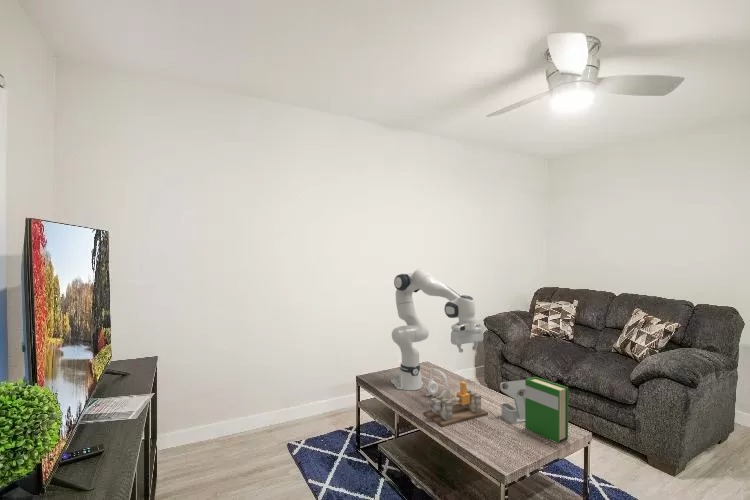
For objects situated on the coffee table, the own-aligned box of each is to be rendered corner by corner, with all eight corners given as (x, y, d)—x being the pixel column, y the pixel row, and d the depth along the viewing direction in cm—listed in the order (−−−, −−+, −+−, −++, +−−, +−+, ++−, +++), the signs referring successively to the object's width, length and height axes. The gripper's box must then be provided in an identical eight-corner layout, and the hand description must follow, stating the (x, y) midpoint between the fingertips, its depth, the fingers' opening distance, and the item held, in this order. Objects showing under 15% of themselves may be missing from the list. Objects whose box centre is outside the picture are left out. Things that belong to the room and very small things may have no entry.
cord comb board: (423, 414, 206) (423, 394, 206) (467, 404, 220) (467, 385, 220) (442, 427, 192) (442, 405, 192) (488, 414, 206) (488, 395, 206)
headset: (453, 407, 216) (453, 375, 216) (441, 408, 214) (441, 376, 214) (435, 394, 235) (435, 364, 235) (425, 395, 233) (425, 365, 232)
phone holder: (510, 424, 195) (510, 388, 195) (499, 415, 205) (499, 381, 205) (540, 420, 200) (540, 385, 200) (527, 411, 210) (527, 378, 210)
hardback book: (568, 439, 180) (568, 387, 180) (558, 443, 176) (558, 390, 176) (535, 424, 195) (535, 376, 195) (525, 427, 191) (525, 379, 191)
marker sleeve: (456, 401, 209) (456, 381, 209) (463, 400, 212) (463, 380, 212) (462, 405, 205) (462, 384, 205) (469, 403, 207) (469, 383, 207)
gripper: (477, 323, 220) (478, 347, 220) (448, 326, 211) (449, 352, 211) (485, 324, 215) (486, 349, 214) (456, 328, 205) (456, 354, 205)
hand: (467, 351), depth 213 cm, fingers open, 8 cm apart
